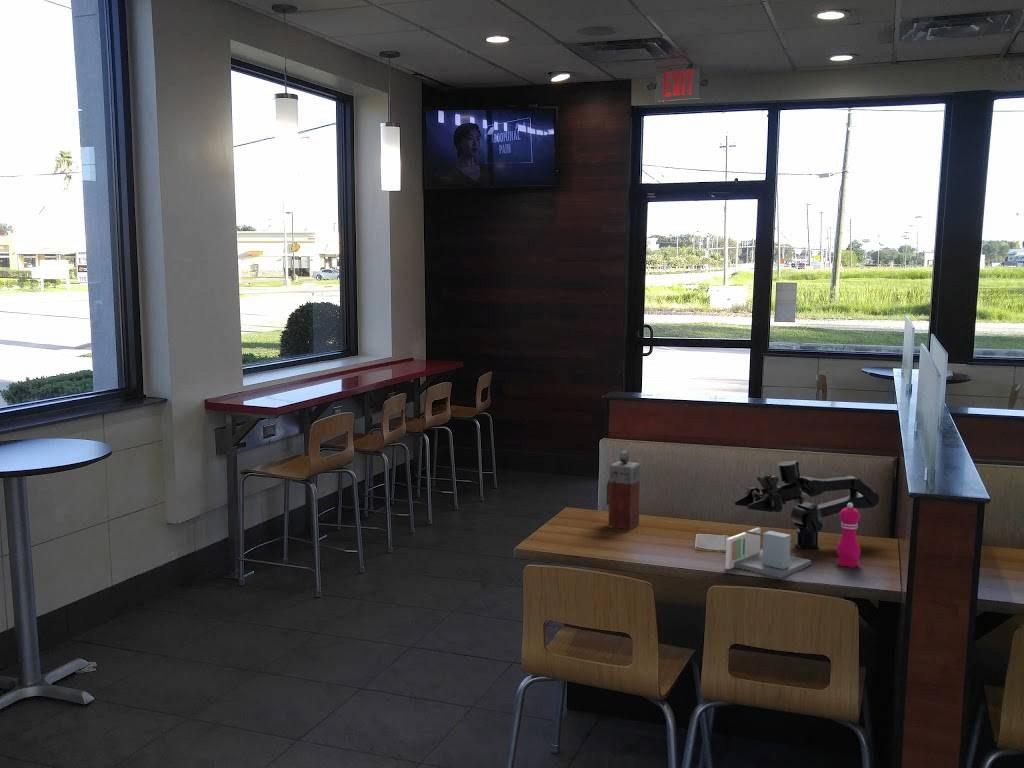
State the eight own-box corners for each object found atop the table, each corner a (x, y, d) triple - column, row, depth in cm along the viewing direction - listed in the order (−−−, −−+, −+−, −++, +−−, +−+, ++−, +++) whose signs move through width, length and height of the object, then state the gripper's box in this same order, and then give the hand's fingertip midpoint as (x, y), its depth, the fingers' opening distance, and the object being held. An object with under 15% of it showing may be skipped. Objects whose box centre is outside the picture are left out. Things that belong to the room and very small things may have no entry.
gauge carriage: (748, 556, 287) (749, 525, 287) (790, 566, 277) (791, 534, 276) (741, 559, 284) (741, 528, 283) (783, 569, 274) (784, 537, 273)
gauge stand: (761, 553, 297) (762, 525, 296) (810, 564, 285) (812, 535, 284) (725, 568, 281) (726, 538, 280) (775, 580, 269) (776, 549, 268)
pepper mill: (832, 561, 289) (834, 500, 287) (855, 561, 289) (857, 500, 287) (840, 567, 282) (842, 505, 280) (863, 568, 281) (866, 505, 279)
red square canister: (610, 521, 340) (611, 447, 337) (639, 524, 335) (640, 450, 332) (602, 526, 332) (603, 451, 329) (631, 529, 327) (632, 454, 324)
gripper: (765, 468, 310) (724, 478, 307) (792, 473, 292) (749, 485, 289) (771, 499, 310) (730, 510, 307) (799, 506, 292) (756, 518, 289)
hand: (741, 505), depth 298 cm, fingers open, 9 cm apart
